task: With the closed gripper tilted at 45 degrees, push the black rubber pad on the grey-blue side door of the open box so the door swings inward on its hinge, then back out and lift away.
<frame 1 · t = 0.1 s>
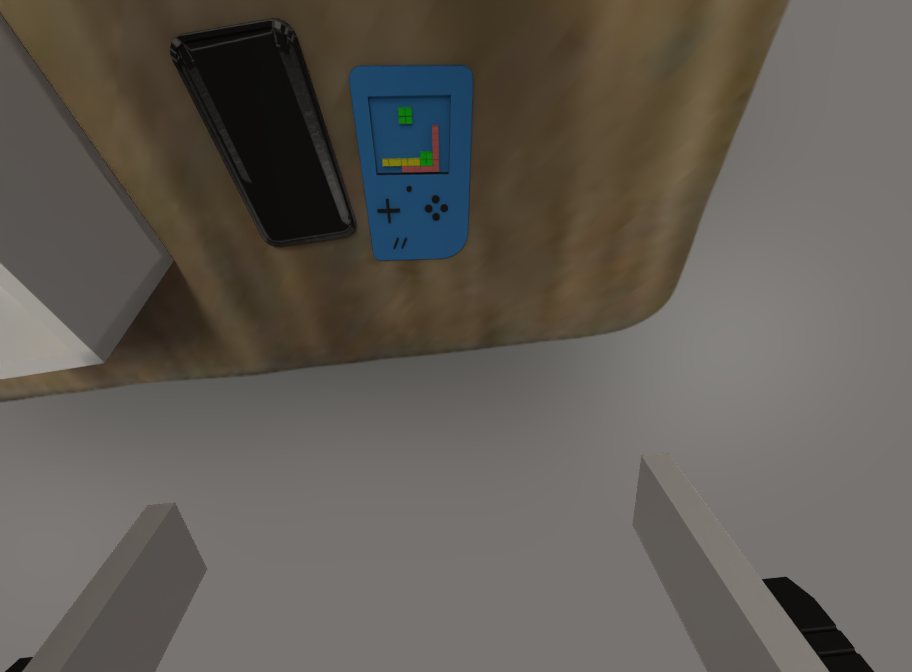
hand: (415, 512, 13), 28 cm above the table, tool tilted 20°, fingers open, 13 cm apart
phone: (279, 146, 32), on the table
handheld gaming device: (416, 172, 35), on the table
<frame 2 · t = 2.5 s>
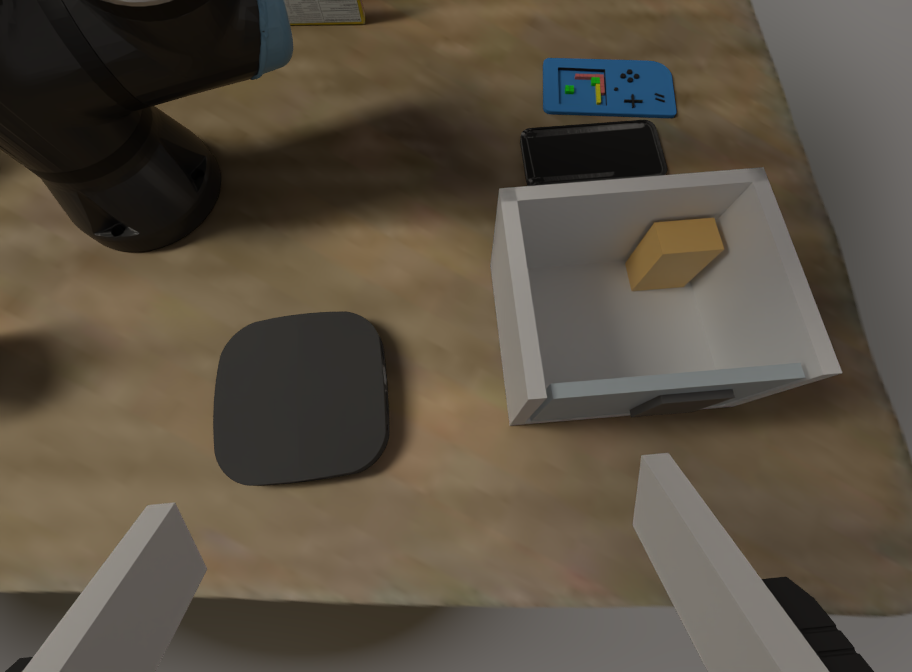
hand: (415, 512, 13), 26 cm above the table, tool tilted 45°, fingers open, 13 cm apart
media streaming box: (310, 398, 41), on the table
candy box: (303, 22, 57), on the table
phone: (589, 160, 49), on the table
side door: (648, 400, 33), point 6 cm above the table, hinge at 0.0°
handheld gaming device: (605, 92, 52), on the table
open box: (604, 331, 42), on the table
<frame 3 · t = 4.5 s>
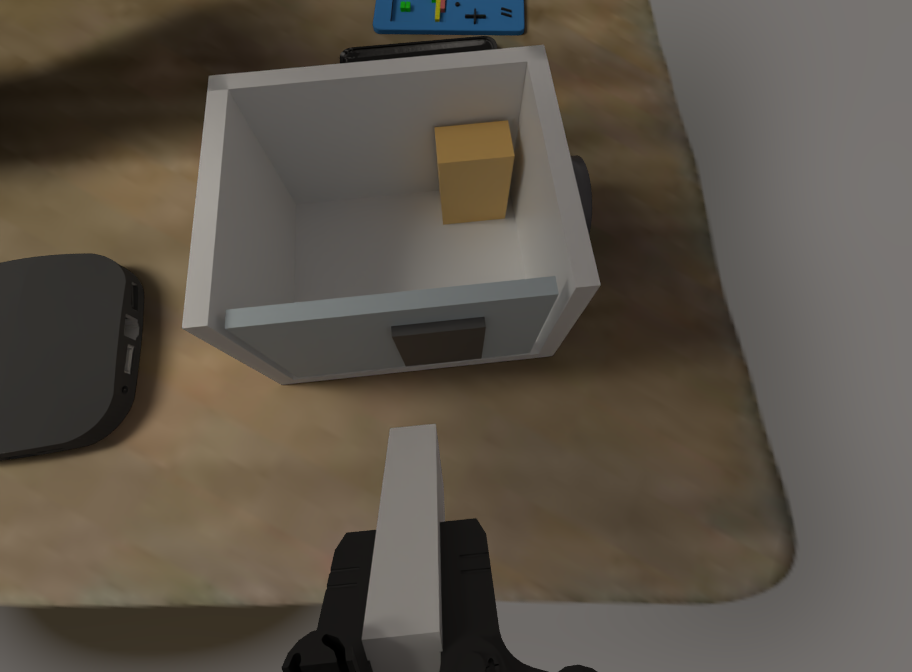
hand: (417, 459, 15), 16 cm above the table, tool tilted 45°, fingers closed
media streaming box: (49, 359, 34), on the table
phone: (421, 84, 42), on the table
side door: (405, 339, 26), point 6 cm above the table, hinge at 0.0°
handheld gaming device: (449, 11, 45), on the table
open box: (410, 273, 35), on the table
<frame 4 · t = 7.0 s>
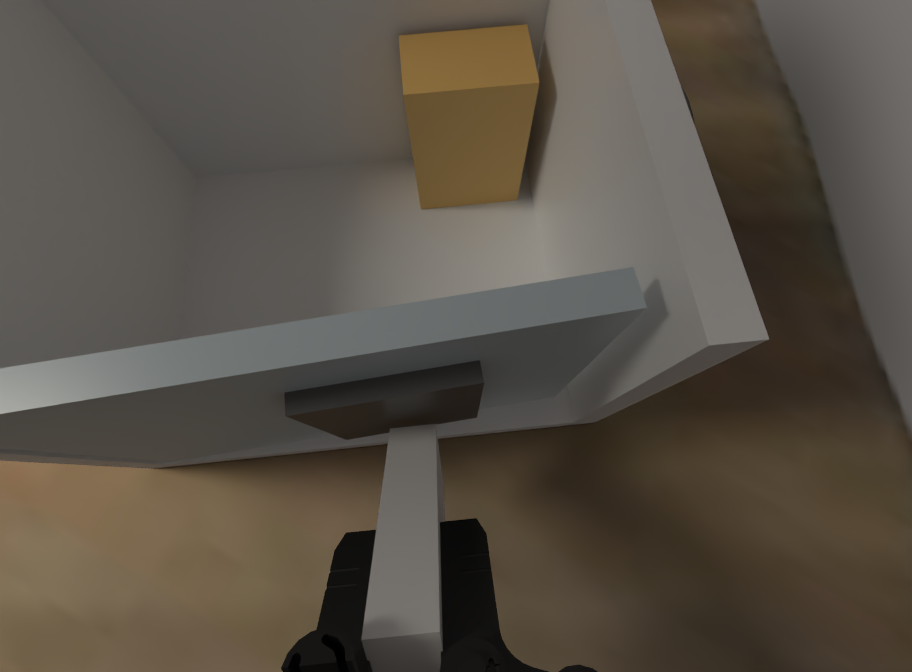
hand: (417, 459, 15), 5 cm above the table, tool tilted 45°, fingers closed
side door: (333, 403, 14), point 6 cm above the table, hinge at 3.8°, touching gripper
open box: (369, 284, 22), on the table
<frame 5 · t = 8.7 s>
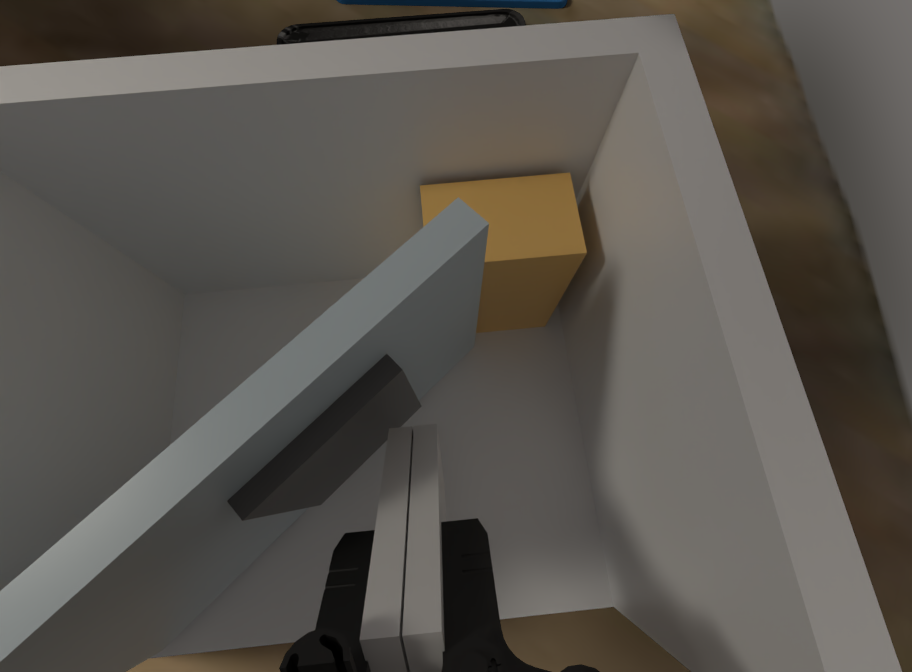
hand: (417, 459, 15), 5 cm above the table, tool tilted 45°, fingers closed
phone: (407, 84, 27), on the table
side door: (284, 480, 13), point 6 cm above the table, hinge at 39.4°, touching open box, gripper
open box: (379, 422, 20), on the table
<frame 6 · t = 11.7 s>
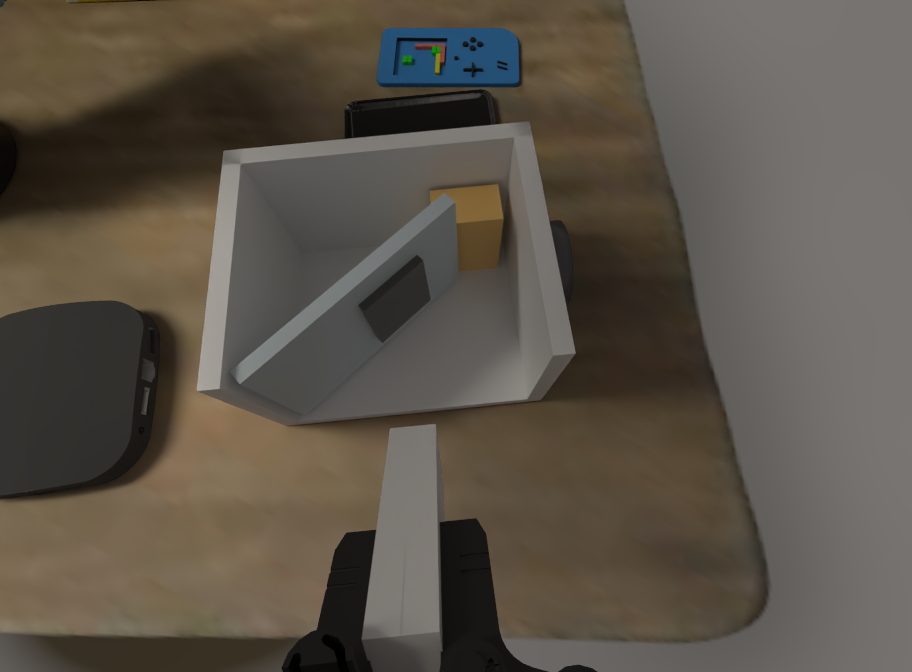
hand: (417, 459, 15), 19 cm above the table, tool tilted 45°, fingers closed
media streaming box: (72, 399, 36), on the table
phone: (421, 134, 45), on the table
side door: (371, 317, 30), point 6 cm above the table, hinge at 39.4°
handheld gaming device: (449, 63, 48), on the table
open box: (407, 319, 37), on the table
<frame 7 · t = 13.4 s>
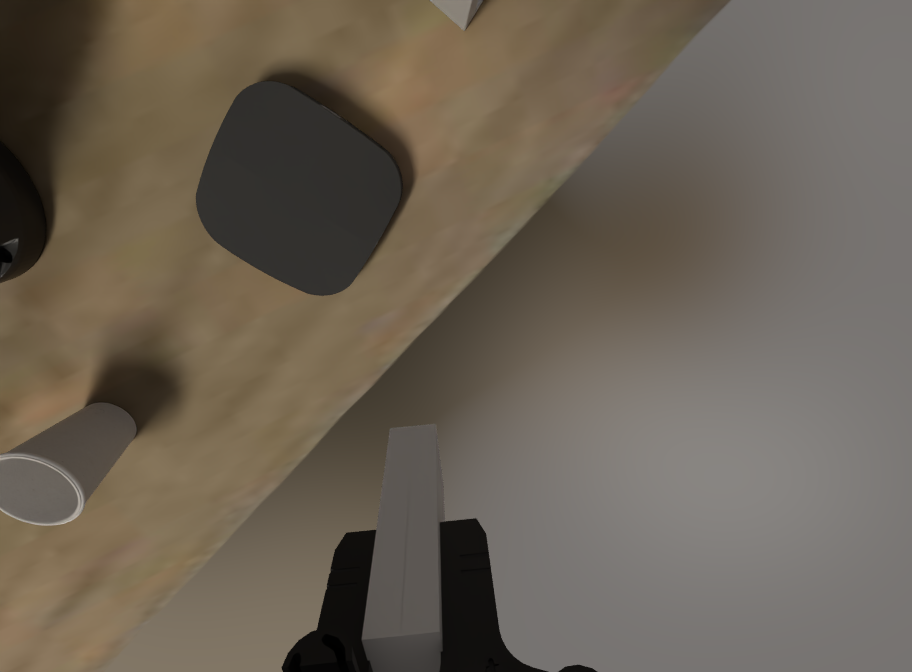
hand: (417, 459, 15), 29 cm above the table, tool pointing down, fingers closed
media streaming box: (306, 195, 39), on the table
dixie cup: (110, 423, 48), on the table
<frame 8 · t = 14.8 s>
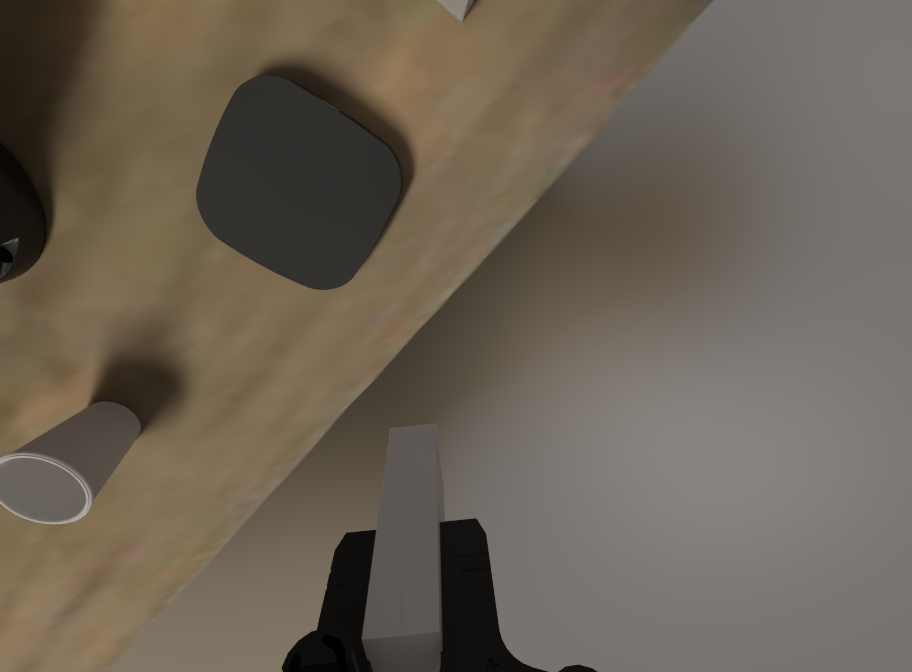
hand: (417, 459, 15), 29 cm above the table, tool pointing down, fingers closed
media streaming box: (306, 189, 39), on the table
dixie cup: (114, 421, 48), on the table
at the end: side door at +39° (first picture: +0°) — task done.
